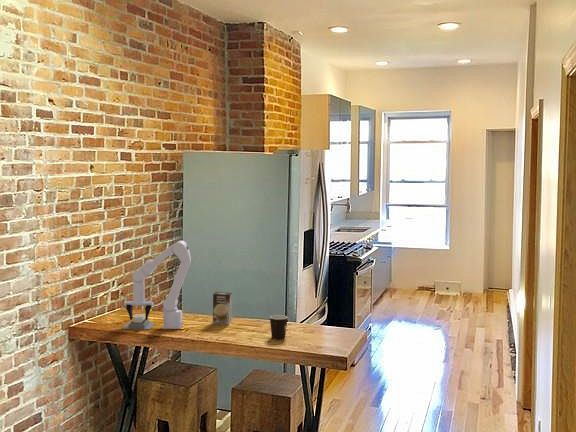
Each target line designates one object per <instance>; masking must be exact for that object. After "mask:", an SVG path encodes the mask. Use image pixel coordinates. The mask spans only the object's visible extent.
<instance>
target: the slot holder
mask: <svg viewBox="0 0 576 432" xmlns="http://www.w3.org/2000/svg"><path fill="white" fill-rule="evenodd" d="M154 324H155V325H156V322H153V321H152V322H150V319H149V318H148V320H145V322H144V323H143V324H133V319H132V320H130V321H127V322H126V324H124V326H122V327H121V330H124V329H134V331H151V330H152V328H153V327H154V326H155V325H154Z"/></svg>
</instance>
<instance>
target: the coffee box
mask: <svg viewBox="0 0 576 432" xmlns="http://www.w3.org/2000/svg"><path fill="white" fill-rule="evenodd" d="M212 296H213V297H212V322H211V323H212V325H220V326H221V325H222V326H230V325H231V323H232V304H233V301H232V299H233V297H232V296H233V292H228V291H227V292H226V291H214V292H213V294H212Z"/></svg>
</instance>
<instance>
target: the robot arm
mask: <svg viewBox="0 0 576 432" xmlns="http://www.w3.org/2000/svg"><path fill="white" fill-rule="evenodd" d="M174 255H175V256H176V257H177V258H178V260H179V261H180V264H179V266H178V269H177V272H176V274H175V276H174V279H173V282H172V285H171V287H170V290H169V292H168V294H167V297H166V299H164V300H163V302H162V307H163V309H162V313H163V314H162V315H163V317H162V319H163V323H162V326H161V327H160V329H163V330H164V329H167V330H168V329H169V330H173V329H174V330H181V328H182V327H183V310H181V309H178V306H177V305H178V304H179V296H180V292H181V290H182V286H183V284H184V281H185V278H186V276H187V273H188V270H189V268H190V266H191V262H192V256H191V251H190V246H189V245H188V243H187V242H186V241H184V240H178V241H177V242H175V243H173V244H172V245H170V246H168V247H167V248H165V249H164V250H163V251H161V253H159V254H158V255H157V256H156V257H155V258H154V259H147V260H145V261H144V264H142V265H141V266H138V267H137V270H134V271H133V272H132V273H131V274H132V275H131V278H132V281H133V283H132V285H133V287H132V288H133V289H132V300H128V301H127V300H125V301H123V306H125V309H126V311H127V314H128V317H129V320H130V321H132V320H133V315H134V314H133V310H134V309H133V308H134V307H136V306H137V307H138V306H139V307H144V311H145V313H144V314H145V320H148V319H149V314H150V311H151V309H152V308H153V307H154V305H155V303H154V301H147V300H146V299H145V298H146V288H145V287H146V284H145V279H146V277H148V276H150V275H151V274H152V273H153V272H154V271H155V270H156V269H157V268H158V264H160V263H161V262H162V261H163V260H165V259H166V258H168V257H169V256H174Z"/></svg>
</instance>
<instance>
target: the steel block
mask: <svg viewBox="0 0 576 432" xmlns="http://www.w3.org/2000/svg"><path fill="white" fill-rule="evenodd" d="M133 315H134V316H133V319H132V320H133V324H143V323H144V322H145V315H146V313H135V314H133Z"/></svg>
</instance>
